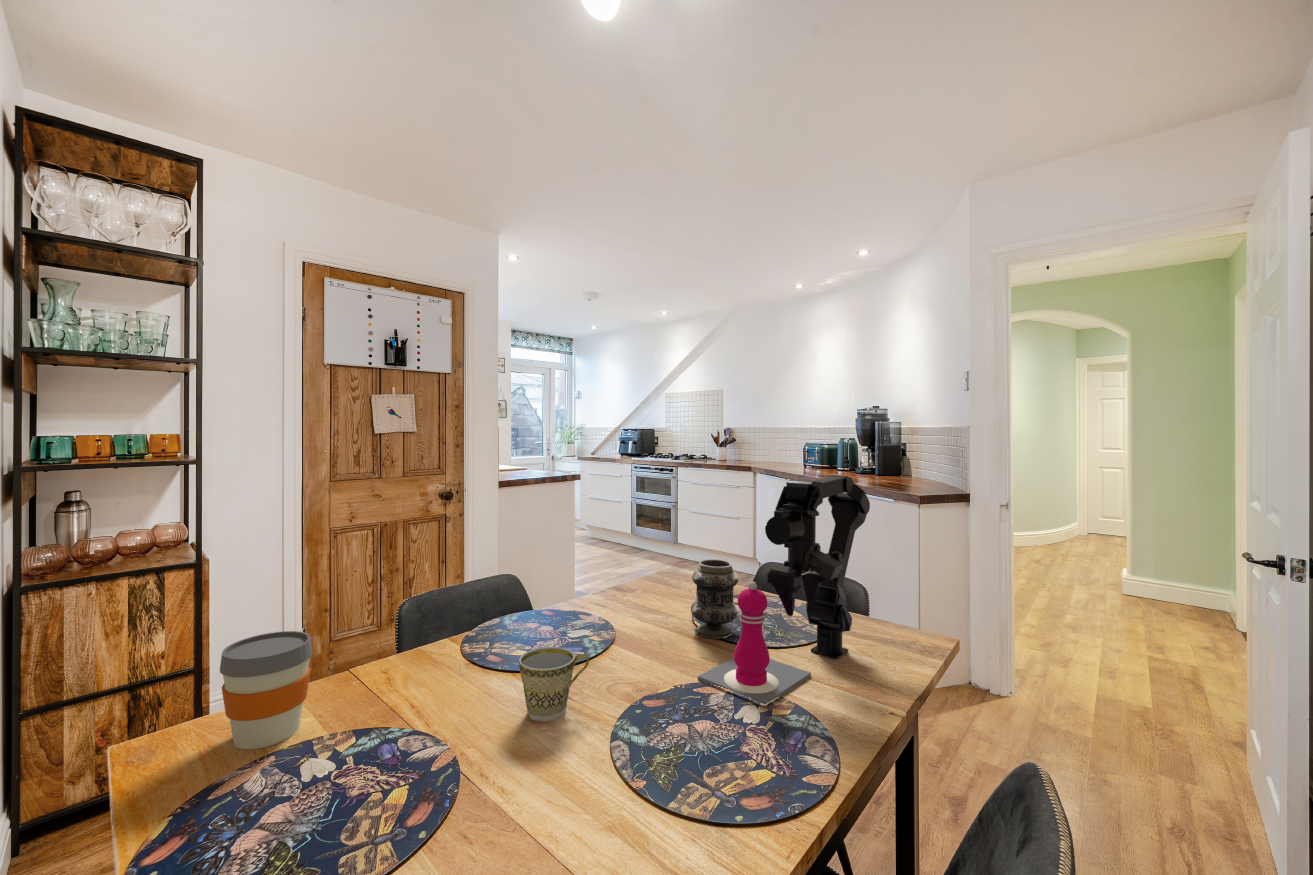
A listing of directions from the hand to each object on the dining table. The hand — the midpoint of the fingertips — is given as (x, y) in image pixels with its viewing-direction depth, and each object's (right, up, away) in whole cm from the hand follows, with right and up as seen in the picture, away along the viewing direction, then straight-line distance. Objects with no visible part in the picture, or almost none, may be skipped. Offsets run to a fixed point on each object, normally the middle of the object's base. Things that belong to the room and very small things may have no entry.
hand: (800, 610), depth 116 cm
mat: (-11, -13, -4) cm, 17 cm away
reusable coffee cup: (-96, -12, -26) cm, 100 cm away
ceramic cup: (-50, -13, -18) cm, 54 cm away
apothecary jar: (-16, -13, +22) cm, 30 cm away
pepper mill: (-12, -12, -6) cm, 18 cm away
